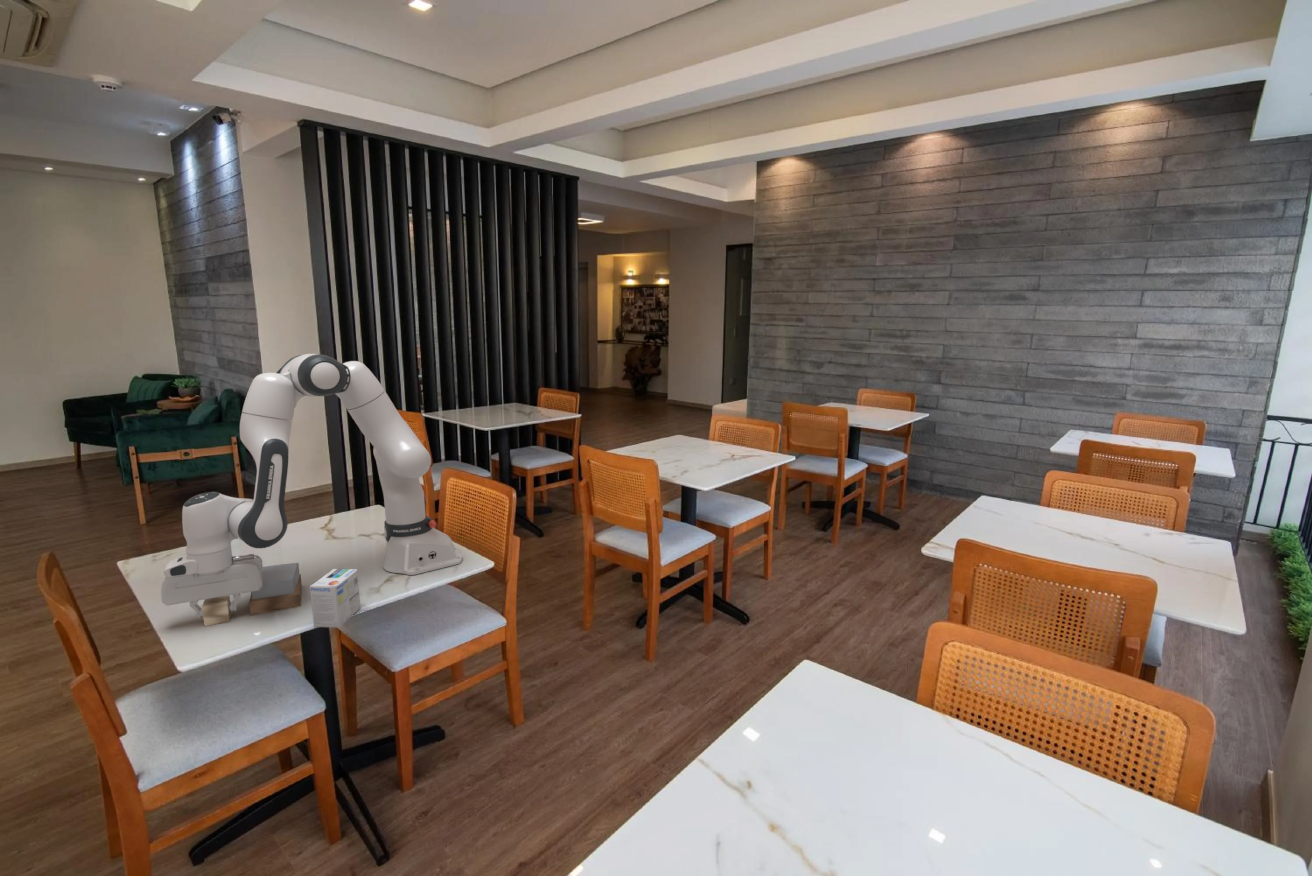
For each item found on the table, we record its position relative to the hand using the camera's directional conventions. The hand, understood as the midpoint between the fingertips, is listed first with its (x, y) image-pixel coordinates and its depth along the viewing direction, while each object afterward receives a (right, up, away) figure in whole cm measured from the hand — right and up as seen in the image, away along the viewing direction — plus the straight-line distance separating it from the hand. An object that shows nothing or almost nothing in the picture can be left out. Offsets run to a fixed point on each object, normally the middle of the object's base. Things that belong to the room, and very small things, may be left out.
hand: (217, 613), depth 154 cm
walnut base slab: (+8, 0, +11) cm, 14 cm away
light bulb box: (+29, -2, +2) cm, 29 cm away
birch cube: (0, -2, 0) cm, 2 cm away
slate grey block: (+8, +4, +11) cm, 14 cm away
